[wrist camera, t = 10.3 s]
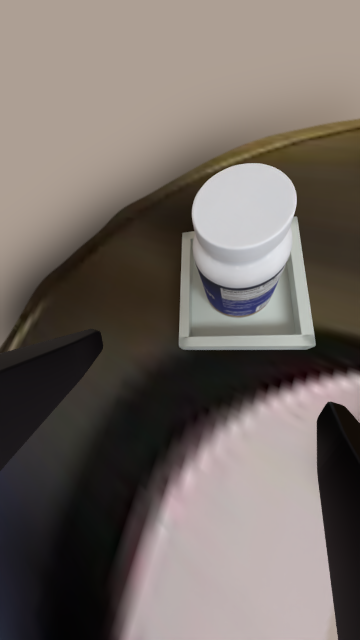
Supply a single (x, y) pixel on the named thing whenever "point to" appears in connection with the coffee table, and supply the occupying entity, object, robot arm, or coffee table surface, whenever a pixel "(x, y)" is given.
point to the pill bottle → (243, 236)
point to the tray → (254, 331)
